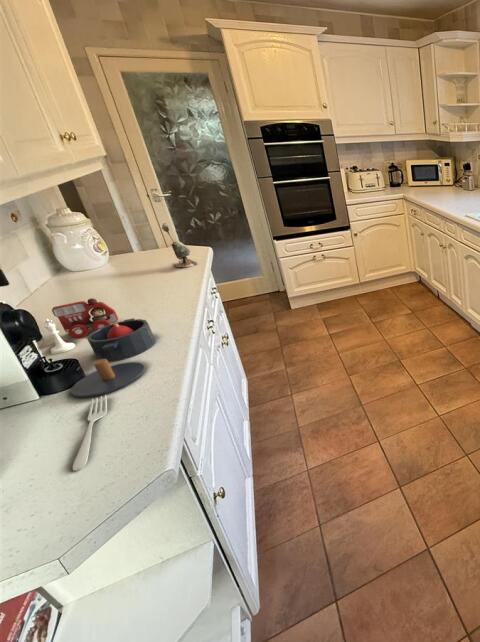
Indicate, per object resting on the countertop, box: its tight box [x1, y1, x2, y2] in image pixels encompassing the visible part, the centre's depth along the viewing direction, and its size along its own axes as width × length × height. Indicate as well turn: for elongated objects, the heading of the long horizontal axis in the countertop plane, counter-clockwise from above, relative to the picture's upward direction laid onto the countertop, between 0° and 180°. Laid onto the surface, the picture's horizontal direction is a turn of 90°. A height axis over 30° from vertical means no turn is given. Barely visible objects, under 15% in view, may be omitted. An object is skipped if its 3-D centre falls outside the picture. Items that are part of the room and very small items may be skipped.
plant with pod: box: [161, 222, 198, 268], centre depth 175 cm, size 8×11×20 cm
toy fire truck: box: [51, 297, 119, 339], centre depth 123 cm, size 7×12×10 cm, turn 131°
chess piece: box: [42, 318, 76, 355], centre depth 113 cm, size 5×5×10 cm
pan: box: [86, 317, 156, 363], centre depth 113 cm, size 13×18×6 cm
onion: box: [107, 323, 134, 339], centre depth 112 cm, size 6×6×8 cm
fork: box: [72, 394, 108, 472], centre depth 83 cm, size 3×24×2 cm, turn 36°
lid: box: [70, 359, 146, 398], centre depth 99 cm, size 14×14×6 cm
